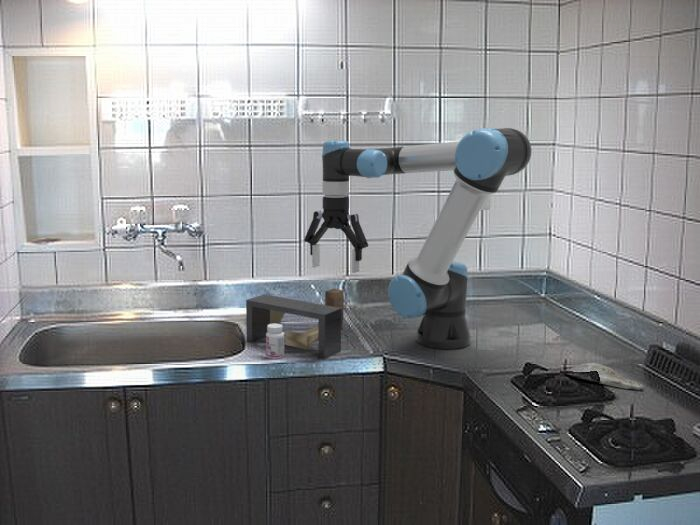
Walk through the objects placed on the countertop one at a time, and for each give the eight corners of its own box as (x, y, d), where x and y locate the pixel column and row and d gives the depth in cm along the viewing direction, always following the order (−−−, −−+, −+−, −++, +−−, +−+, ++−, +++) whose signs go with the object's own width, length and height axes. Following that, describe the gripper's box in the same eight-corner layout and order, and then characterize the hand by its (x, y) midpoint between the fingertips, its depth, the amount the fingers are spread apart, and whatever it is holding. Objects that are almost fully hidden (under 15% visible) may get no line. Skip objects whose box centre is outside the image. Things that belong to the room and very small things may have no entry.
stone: (636, 405, 177) (649, 390, 185) (639, 391, 176) (652, 377, 184) (557, 379, 188) (572, 366, 196) (559, 366, 187) (574, 353, 195)
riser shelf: (341, 351, 204) (341, 308, 202) (324, 359, 197) (325, 314, 195) (264, 334, 217) (264, 294, 215) (246, 341, 211) (246, 299, 208)
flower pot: (286, 327, 225) (286, 304, 223) (252, 326, 225) (252, 303, 223) (289, 318, 234) (289, 295, 233) (257, 317, 235) (257, 295, 233)
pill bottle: (262, 356, 199) (262, 325, 197) (273, 352, 202) (273, 321, 201) (276, 360, 196) (276, 329, 194) (287, 355, 200) (287, 324, 198)
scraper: (348, 330, 223) (348, 291, 220) (306, 349, 205) (307, 306, 203) (328, 326, 226) (328, 287, 224) (285, 344, 209) (286, 302, 206)
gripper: (380, 197, 211) (379, 271, 215) (307, 192, 224) (307, 262, 228) (367, 200, 205) (366, 276, 209) (292, 194, 218) (292, 266, 222)
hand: (335, 269), depth 219 cm, fingers open, 13 cm apart
